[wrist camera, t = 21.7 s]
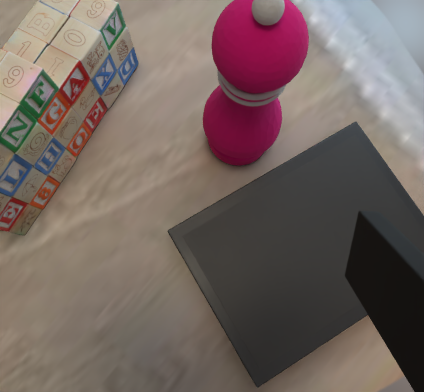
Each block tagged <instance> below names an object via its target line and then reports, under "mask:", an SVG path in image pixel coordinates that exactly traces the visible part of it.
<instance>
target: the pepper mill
mask: <svg viewBox="0 0 424 392" xmlns="http://www.w3.org/2000/svg"><path fill="white" fill-rule="evenodd" d="M308 42H309V36H308V29H307V25H306V22H305V20H304V18H303V15H302V13H301V12H300V11H299V9H298V8H297V7H296V6H295V5H294V4H293V3H292V2H291V1H289V0H234V1H233V2H231V3H230V4H229V5H228V6H227V7H226V8H225V9H224V10H223V12H222V13H221V14H220V16H219V18H218V20H217V22H216V25H215V27H214V31H213V36H212V55H213V59H214V62H215V64H216V66H217V69H218V80H219V84H220V85H219V86H218V87H217V88H216V89H215V90H214V91H213V93H212V94H211V95H210V97H209V98H208V100H207V102H206V105H205V108H204V114H203V127H204V131H205V134H206V136H207V138H208V143H209V146H210V148H211V150H212V152H213V153H214V154H215V156H216V157H218V158H219V159H220V160H221V161H223V162H225V163H228V164H231V165H246V164H250V163H252V162H254V161H256V160H257V159H258V158H259V157H260V156H261V155H262V154H263V153H264V151H266V150H267V149H268V148H269V147H270V146H271V145H272V144H273V143H274V142H275V140H276V138H277V136H278V134H279V131H280V127H281V122H282V111H281V106H280V102H279V100H278V98H277V97H278V96H279V95H280V94H281V93H282V92H283V90H284V88H285V86H286V84H287V83H289V82H290V81H291V80H292V79H293V78H294V77H295V76H296V75H297V74H298V72H299V71H300V69H301V67H302V65H303V63H304V60H305V58H306V55H307V51H308Z"/></svg>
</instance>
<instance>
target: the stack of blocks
mask: <svg viewBox="0 0 424 392" xmlns="http://www.w3.org/2000/svg"><path fill="white" fill-rule="evenodd" d="M137 65H138V60H137V57H136V54H135V50H134V47H133V43H132V40H131V37H130V34H129V30H128V28H127V27H126V25H125V21H124V18H123V15H122V12H121V9H120V7H119V4H118V3H117V2H115V1H113V0H40V1H37V2H36V3H35V5H34V6H33V7H32V9H31V10H30V11H29V13H28V14H27V15H26V17H25V18H24V19H23V21H22V22H21V23H20V25H19V26H18V29H16V30H15V31H14V33H13V34H12V35H11V37H10V38H9V39H8V41H7V42H6V44H5V45H4V47H3V48H2V49H1V48H0V230H2V231H8V232H10V233H15V234H19V235H25V234H26V233H27V231H28V230H29V228H30V227H31V225H32V224H33V222H34V221H35V219H36V218H37V216H38V215H39V213H40V212H41V210H42V209H44V207H45V206H46V204H47V203H48V201H49V200H50V198H51V197H52V195H53V194H54V192H55V191H56V189H57V188H58V186H59V185H60V183H61V182H62V180H63V179H64V177H65V176H66V174H67V173H68V171H69V170H70V169H71V167H72V165H73V164H74V162H75V161H76V157H77V155H78V154H79V153H80V151H81V150H82V148H83V147H84V145H85V144H86V142H87V141H88V139H89V138H90V136H91V135H92V132H93V131H94V129H95V128H96V126H97V125H98V123H99V122H100V120H101V118H102V117H103V116H104V114H105V113H106V111H107V109H109V108H110V107H111V105H112V104H113V102H114V101H115V99H116V98H117V96H118V95H119V93H120V92H121V90H122V89H123V87H124V85H125V84H126V82H127V81H128V79H129V78H130V76H131V75H132V73H133V72H134V70H135V69H136V67H137Z"/></svg>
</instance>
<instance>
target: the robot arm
mask: <svg viewBox="0 0 424 392" xmlns="http://www.w3.org/2000/svg"><path fill="white" fill-rule="evenodd" d="M345 277H346V279H347V281H348V282H349V284H350V286H351V287H352V289H353V291H354V292H355V294H356V296H357V297H358V299H359V301H360V302H361V304H362V306H363V307H364V309H365V311H366V312H367V314H368V316H369V317H370V319H371V320H372V322H373V324H374V325H375V327H376V329H377V330H378V332H379V334H380V335H381V337H382V339H383V340H384V342H385V344H386V345H387V347H388V349H389V350H390V352H391V354H392V355H393V357H394V359H395V360H396V362H397V364H398V365H399V367H400V368H401V370H402V372H403V373H404V375H405V377H406V378H407V380H408V382H409V383H410V385H411V387H412V388H413V390H414V392H424V253H422V252H421V251H420V250H419V249H418V248H417V247H416V246H415V245H414V244H413V243H412V242H411V241H410V240H409V239H408V238H407V237H406V236H405V235H404V234H403V233H401V232H400V231H399V230H398V229H397V228H396V227H395V226H394V225H393V224H392V223H391V222H390V221H389V220H388V219H387V218H386V217H385V216H384V215H383V214H382V213H380V212H375V211H359V212H358V217H357V221H356V226H355V230H354V235H353V239H352V244H351V248H350V253H349V258H348V262H347V267H346V271H345Z"/></svg>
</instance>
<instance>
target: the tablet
mask: <svg viewBox="0 0 424 392" xmlns="http://www.w3.org/2000/svg"><path fill="white" fill-rule="evenodd" d="M359 211H375V212H380V213H382V214H383V215H384V216H385V217H386V218H387V219H388V220H389V221H390V222H391V223H392V224H393V225H394V226H395V227H396V228H397V229H398V230H399V231H400V232H401V233H403V234H404V235H405V236H406V237H407V238H408V239H409V240H410V241H411V242H412V243H413V244H414V245H415V246H416V247H417V248H418V249H419V250H420V251H421V252H422V253H424V215H423V214H422V213H421V211H420V210H419V208H418V207H417V206H416V204H415V203H414V201H413V200H412V199H411V197H410V196H409V194H408V193H407V192H406V190H405V189H404V188H403V186H402V185H401V183H400V182H399V181H398V179H397V178H396V176H395V175H394V174H393V172H392V171H391V169H390V168H389V167H388V165H387V164H386V162H385V161H384V160H383V158H382V157H381V155H380V154H379V153H378V151H377V150H376V148H375V147H374V146H373V144H372V143H371V141H370V140H369V139H368V137H367V136H366V134H365V133H364V132H363V130H362V129H361V127H360V126H359V125H358V123H357V122H354V123H352V124H351V125H349V126H347V127H345V128H344V129H342V130H340V131H338V132H337V133H335V134H333V135H332V136H330V137H328V138H326V139H325V140H323V141H321V142H320V143H318V144H316V145H314V146H313V147H311V148H309V149H307V150H306V151H304V152H302V153H301V154H299V155H297V156H295V157H294V158H292V159H290V160H288V161H287V162H285V163H283V164H282V165H280V166H278V167H276V168H275V169H273V170H271V171H269V172H268V173H266V174H264V175H263V176H261V177H259V178H257V179H256V180H254V181H252V182H251V183H249V184H247V185H245V186H244V187H242V188H240V189H238V190H237V191H235V192H233V193H232V194H230V195H228V196H226V197H225V198H223V199H221V200H219V201H218V202H216V203H214V204H213V205H211V206H209V207H207V208H206V209H204V210H202V211H201V212H199V213H197V214H195V215H194V216H192V217H190V218H188V219H187V220H185V221H183V222H182V223H180V224H178V225H176V226H175V227H173V228H171V229H169V230H168V233H169V235H170V236H171V238H172V240H173V242H174V243H175V245H176V247H177V249H178V250H179V252H180V254H181V256H182V257H183V259H184V261H185V263H186V264H187V266H188V268H189V270H190V271H191V273H192V275H193V277H194V278H195V280H196V282H197V284H198V285H199V287H200V289H201V291H202V292H203V294H204V296H205V298H206V299H207V301H208V303H209V305H210V306H211V308H212V310H213V312H214V313H215V315H216V317H217V319H218V320H219V322H220V324H221V326H222V327H223V329H224V331H225V333H226V334H227V336H228V338H229V340H230V341H231V343H232V345H233V347H234V348H235V350H236V352H237V354H238V355H239V357H240V359H241V361H242V362H243V364H244V366H245V368H246V369H247V371H248V373H249V375H250V376H251V378H252V380H253V382H254V383H255V385H256V387H259V386H261V385H262V384H264V383H265V382H267V381H268V380H270V379H271V378H273V377H274V376H276V375H278V374H279V373H281V372H282V371H284V370H285V369H287V368H288V367H290V366H291V365H293V364H294V363H296V362H297V361H299V360H300V359H302V358H303V357H305V356H306V355H308V354H309V353H311V352H312V351H314V350H315V349H317V348H318V347H320V346H321V345H323V344H324V343H326V342H327V341H329V340H330V339H332V338H333V337H335V336H336V335H338V334H340V333H341V332H343V331H344V330H346V329H347V328H349V327H350V326H352V325H353V324H355V323H356V322H358V321H359V320H361V319H362V318H364V317H365V316H367V315H368V314H367V312H366V311H365V309H364V307H363V306H362V304H361V302H360V301H359V299H358V297H357V296H356V294H355V292H354V291H353V289H352V287H351V286H350V284H349V282H348V281H347V279H346V277H345V271H346V267H347V262H348V258H349V253H350V248H351V244H352V239H353V235H354V230H355V226H356V221H357V217H358V212H359Z"/></svg>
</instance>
